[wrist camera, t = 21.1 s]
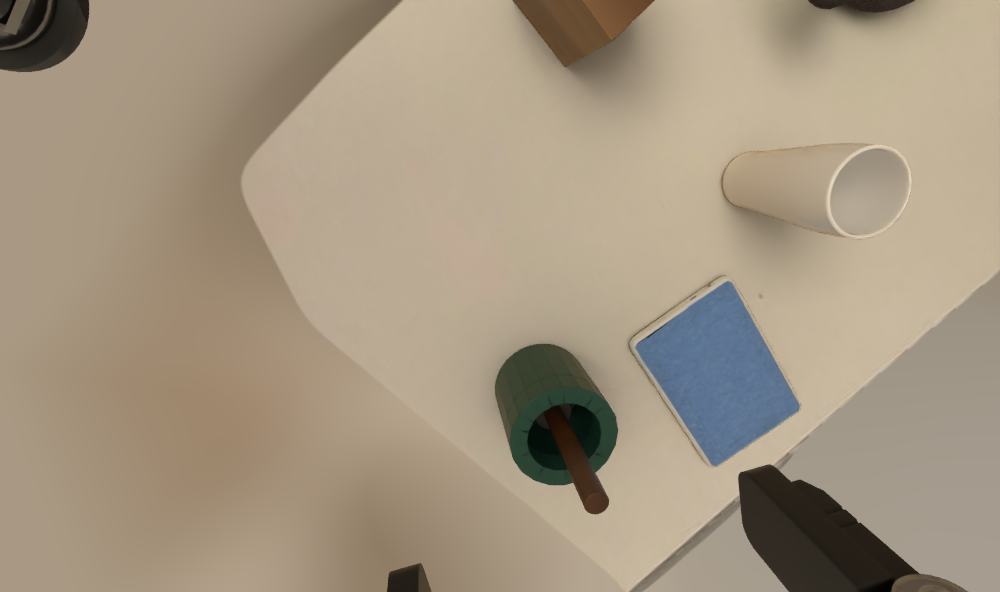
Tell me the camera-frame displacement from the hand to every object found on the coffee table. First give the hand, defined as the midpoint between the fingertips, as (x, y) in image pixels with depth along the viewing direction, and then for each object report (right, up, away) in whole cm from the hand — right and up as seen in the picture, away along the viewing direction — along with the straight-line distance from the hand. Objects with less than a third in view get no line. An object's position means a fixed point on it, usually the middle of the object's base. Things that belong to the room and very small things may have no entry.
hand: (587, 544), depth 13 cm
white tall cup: (+22, +17, +38) cm, 47 cm away
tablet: (+21, -2, +44) cm, 49 cm away
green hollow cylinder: (+2, -3, +41) cm, 42 cm away
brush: (+2, -3, +41) cm, 41 cm away
